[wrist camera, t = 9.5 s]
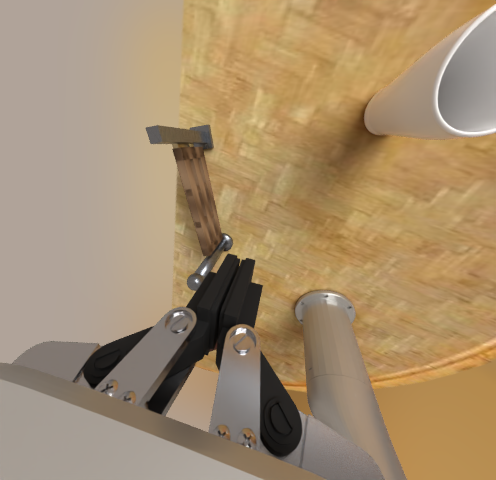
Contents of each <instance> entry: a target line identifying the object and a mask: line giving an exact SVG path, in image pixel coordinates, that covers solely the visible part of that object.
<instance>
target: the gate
mask: <svg viewBox="0 0 496 480" xmlns="http://www.w3.org/2000/svg"><path fill="white" fill-rule="evenodd" d="M173 152H174V156H175V159H176V163H177V166H178V170H179V173H180V177H181V180H182V184H183V187H184V190H185V194H186V197H187V201H188V204H189V208H190V211H191V214H192V218H193V221H194V225H195V228H196V232H197V235H198V238H199V242H200V245H201V249H202V252H203V256H210V255H211V254H212V253H213V251H214V250H215V249H216V247H217V246H218V244H219V243H220V242H221V240H222V239H223V237H222V233H221V228H220V224H219V219H218V215H217V210H216V206H215V201H214V197H213V192H212V188H211V183H210V179H209V174H208V170H207V165H206V161H205V156H204V152H203V147H181V148H175V149H173Z"/></svg>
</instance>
